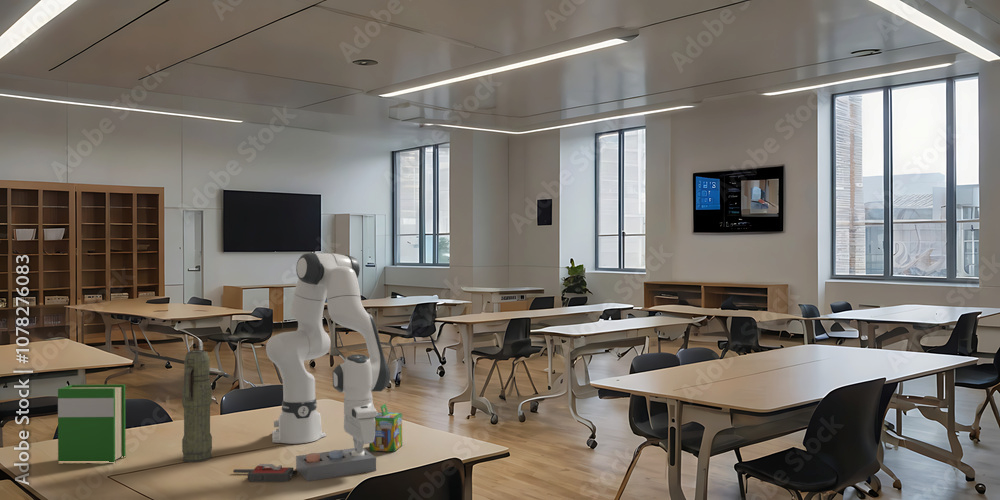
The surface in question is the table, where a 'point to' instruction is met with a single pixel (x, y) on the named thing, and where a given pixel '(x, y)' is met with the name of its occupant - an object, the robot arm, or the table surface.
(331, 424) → the table surface
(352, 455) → the white ellipsoid
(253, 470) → the walkie-talkie
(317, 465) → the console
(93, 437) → the hardback book
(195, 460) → the thermos
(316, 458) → the orange egg
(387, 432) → the chalk box
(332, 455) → the pale blue egg shape
